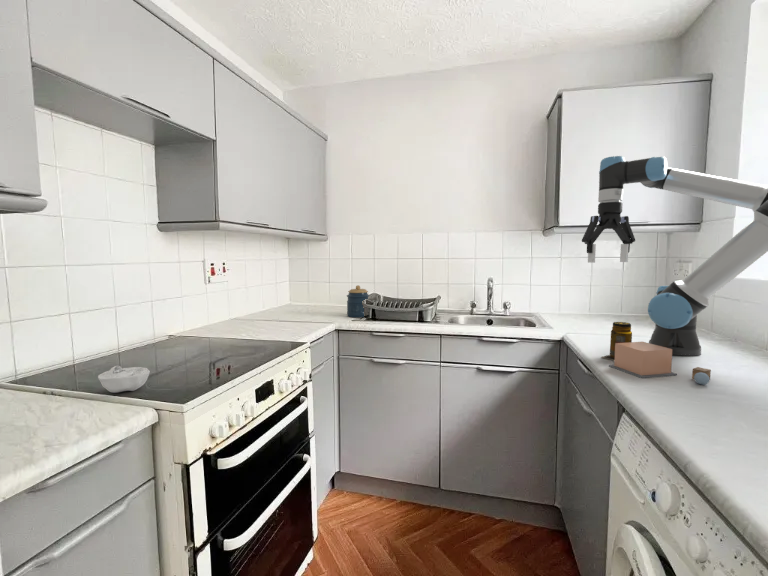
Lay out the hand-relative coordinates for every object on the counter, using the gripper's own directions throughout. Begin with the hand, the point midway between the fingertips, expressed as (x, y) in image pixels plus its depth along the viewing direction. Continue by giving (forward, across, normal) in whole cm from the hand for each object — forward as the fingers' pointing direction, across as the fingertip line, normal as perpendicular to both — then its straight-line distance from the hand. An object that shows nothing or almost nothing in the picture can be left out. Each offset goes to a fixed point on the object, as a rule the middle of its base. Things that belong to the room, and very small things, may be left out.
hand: (607, 262), depth 139 cm
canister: (+32, -77, +98) cm, 129 cm away
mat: (+32, -9, -25) cm, 41 cm away
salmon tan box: (+31, -9, -25) cm, 41 cm away
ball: (+30, -4, -39) cm, 49 cm away
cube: (+32, 0, -36) cm, 48 cm away
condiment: (+32, -5, -12) cm, 35 cm away
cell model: (+32, -154, -9) cm, 158 cm away
